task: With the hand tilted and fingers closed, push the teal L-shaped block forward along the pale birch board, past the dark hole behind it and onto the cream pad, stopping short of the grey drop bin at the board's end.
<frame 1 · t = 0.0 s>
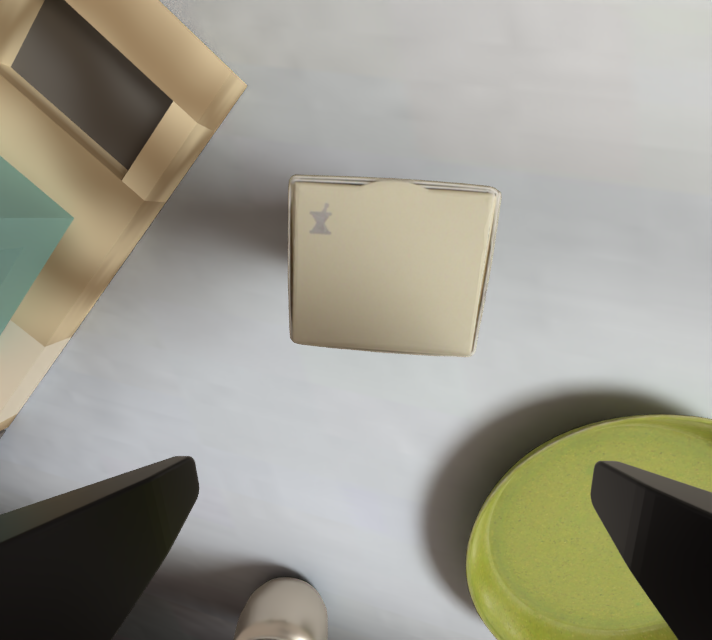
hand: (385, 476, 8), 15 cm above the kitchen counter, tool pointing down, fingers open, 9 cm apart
plastic bottle: (291, 593, 29), on the kitchen counter
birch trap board: (18, 234, 23), on the kitchen counter
saucer: (608, 525, 26), on the kitchen counter
box: (384, 241, 22), on the kitchen counter
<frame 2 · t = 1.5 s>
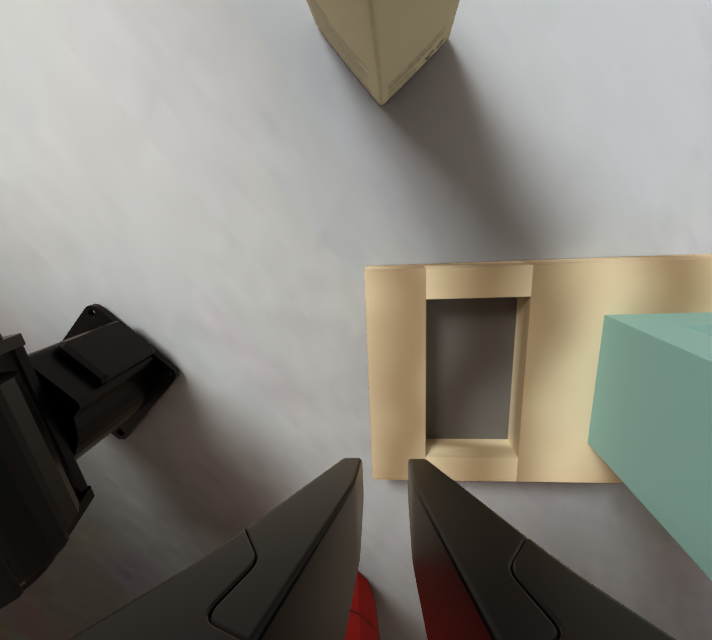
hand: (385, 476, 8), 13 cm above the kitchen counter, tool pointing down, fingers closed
plastic cup: (333, 587, 27), on the kitchen counter
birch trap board: (662, 365, 20), on the kitchen counter
box: (378, 30, 17), on the kitchen counter
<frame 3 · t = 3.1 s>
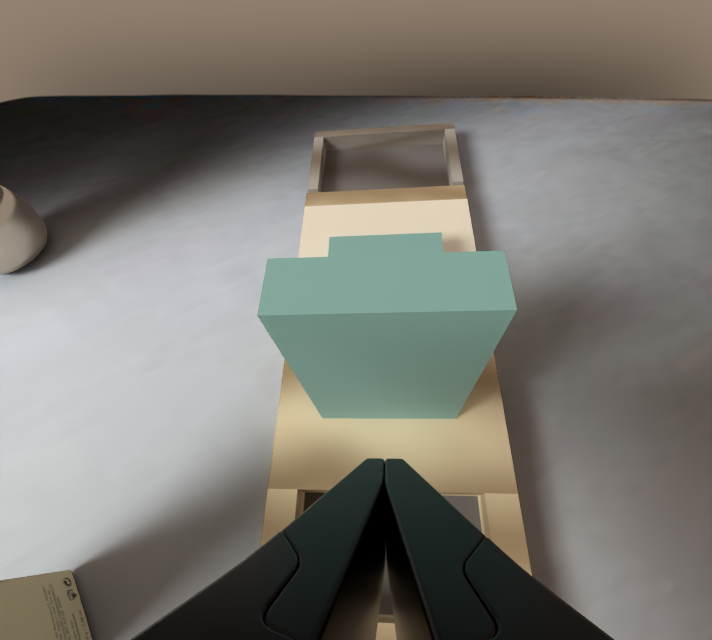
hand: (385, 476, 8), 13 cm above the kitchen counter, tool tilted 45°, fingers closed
teal L-block: (386, 326, 22), point 2 cm above the kitchen counter, touching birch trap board
plastic bottle: (22, 254, 31), on the kitchen counter
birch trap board: (387, 355, 23), on the kitchen counter
cream pad: (385, 261, 27), on the kitchen counter
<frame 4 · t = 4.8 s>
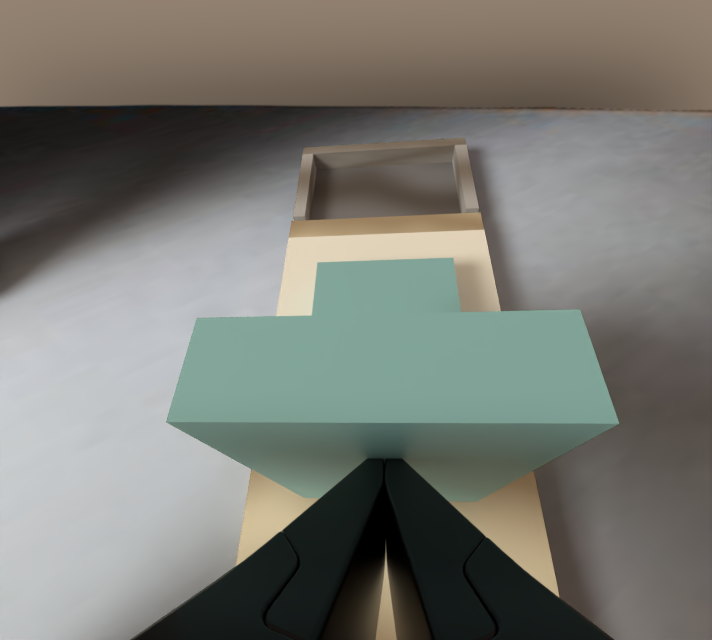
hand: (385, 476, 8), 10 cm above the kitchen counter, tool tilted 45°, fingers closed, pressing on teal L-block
teal L-block: (386, 374, 18), point 2 cm above the kitchen counter, touching gripper
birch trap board: (387, 431, 19), on the kitchen counter
cream pad: (385, 305, 22), on the kitchen counter
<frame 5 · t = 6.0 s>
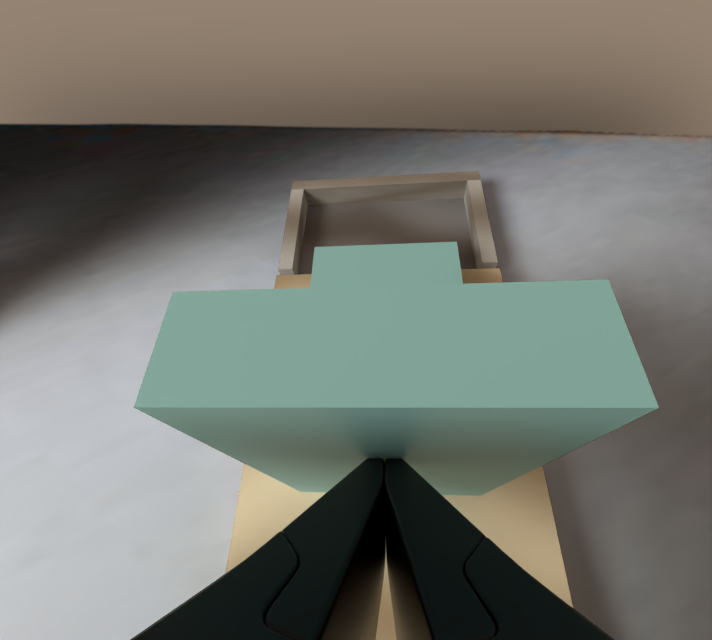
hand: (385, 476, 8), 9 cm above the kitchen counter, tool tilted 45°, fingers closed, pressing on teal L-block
teal L-block: (386, 363, 17), point 2 cm above the kitchen counter, touching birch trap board, cream pad, gripper
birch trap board: (390, 555, 15), on the kitchen counter
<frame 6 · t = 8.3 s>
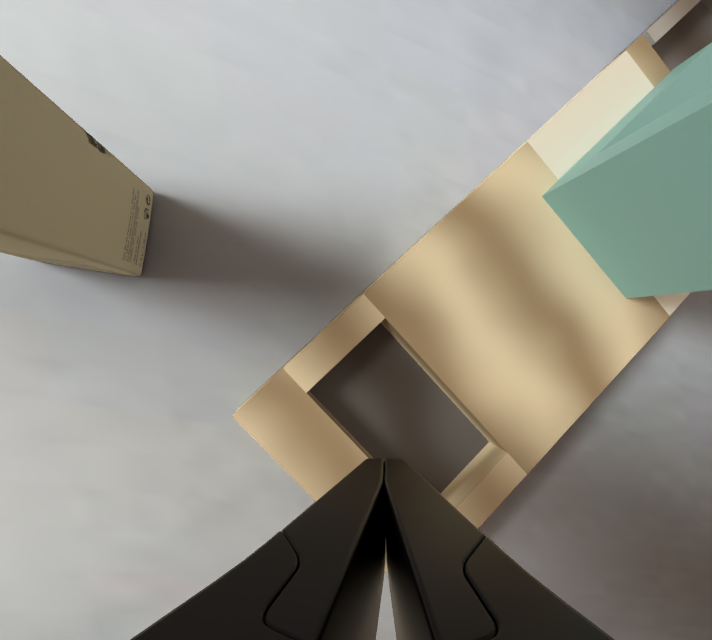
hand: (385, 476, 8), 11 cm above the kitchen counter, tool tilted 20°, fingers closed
teal L-block: (650, 181, 20), point 2 cm above the kitchen counter, touching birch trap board, cream pad
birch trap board: (532, 281, 21), on the kitchen counter
cream pad: (616, 196, 22), on the kitchen counter
box: (93, 226, 18), on the kitchen counter
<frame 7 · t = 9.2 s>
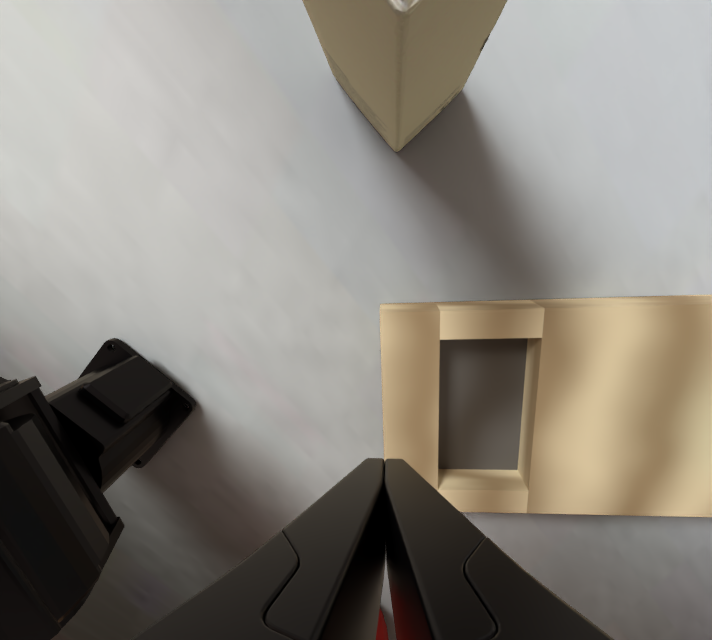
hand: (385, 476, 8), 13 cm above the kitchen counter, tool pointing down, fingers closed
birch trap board: (669, 400, 21), on the kitchen counter
box: (393, 80, 18), on the kitchen counter
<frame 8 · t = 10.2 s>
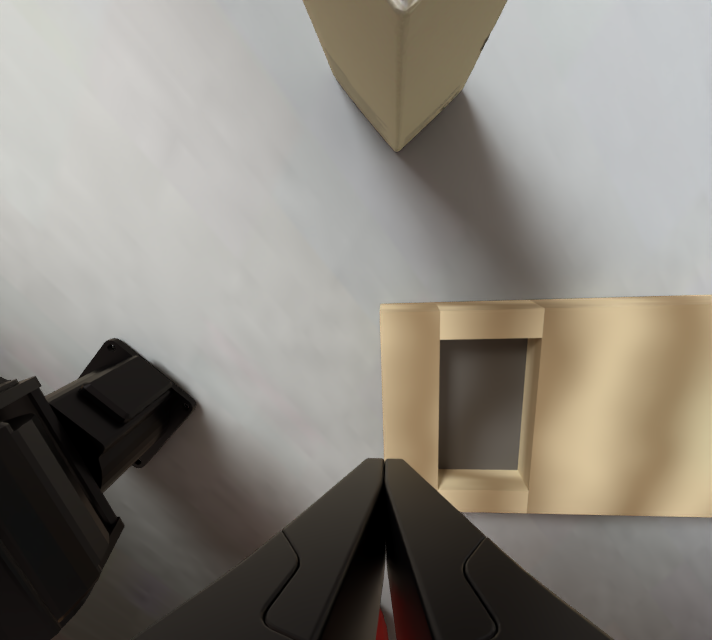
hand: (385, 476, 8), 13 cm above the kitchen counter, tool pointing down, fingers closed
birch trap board: (669, 400, 21), on the kitchen counter
box: (393, 80, 18), on the kitchen counter
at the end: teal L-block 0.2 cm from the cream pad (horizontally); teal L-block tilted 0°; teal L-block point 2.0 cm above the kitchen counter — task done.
